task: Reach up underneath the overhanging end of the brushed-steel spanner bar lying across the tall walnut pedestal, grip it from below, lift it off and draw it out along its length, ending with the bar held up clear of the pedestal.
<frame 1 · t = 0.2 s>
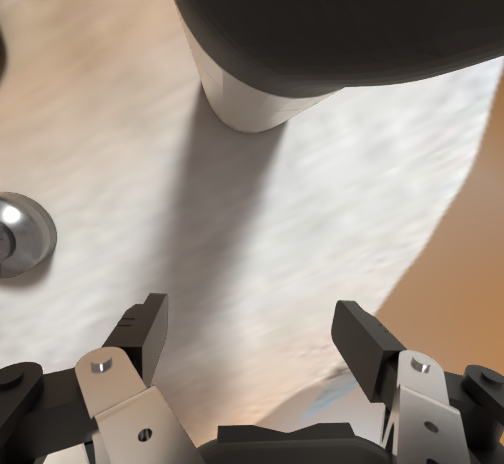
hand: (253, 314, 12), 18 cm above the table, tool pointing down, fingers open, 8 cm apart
white tapered cylinder: (112, 362, 33), on the table
round knob: (15, 230, 27), on the table
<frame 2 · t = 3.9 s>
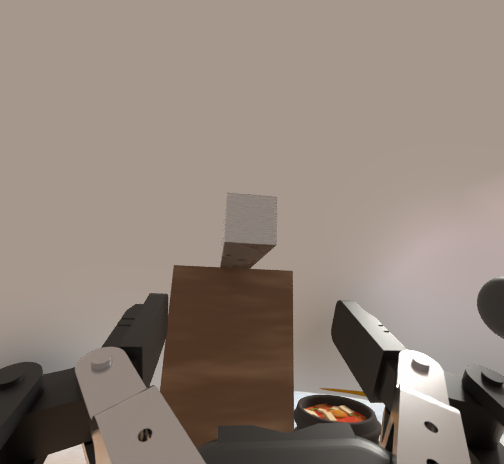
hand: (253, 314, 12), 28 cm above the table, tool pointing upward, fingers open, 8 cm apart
casserole: (337, 457, 50), on the table
spanner bar: (233, 270, 30), point 32 cm above the table, touching pedestal
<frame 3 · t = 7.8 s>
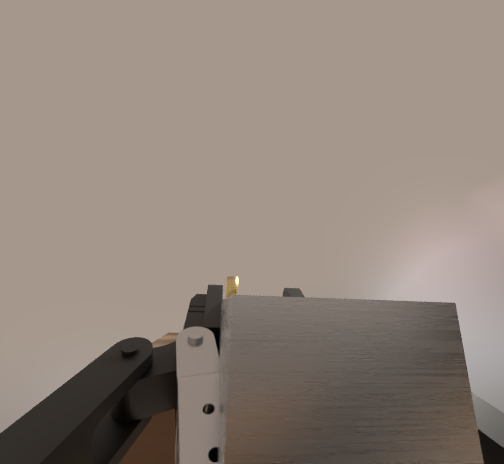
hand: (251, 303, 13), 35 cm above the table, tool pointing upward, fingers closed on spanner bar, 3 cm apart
spanner bar: (240, 352, 17), point 32 cm above the table, touching gripper, pedestal
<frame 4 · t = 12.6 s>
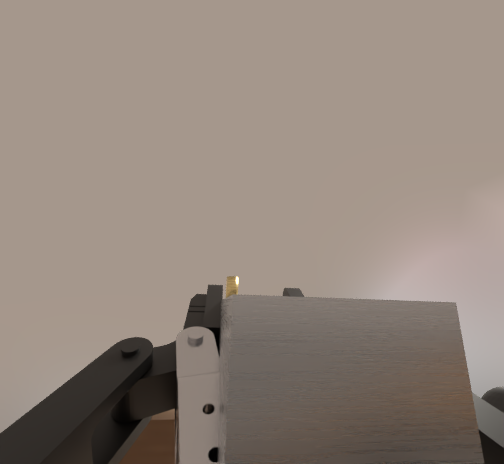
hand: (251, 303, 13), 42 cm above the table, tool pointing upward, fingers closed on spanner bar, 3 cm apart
spanner bar: (240, 352, 17), point 39 cm above the table, touching gripper
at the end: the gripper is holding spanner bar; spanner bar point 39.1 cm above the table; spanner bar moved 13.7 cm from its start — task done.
